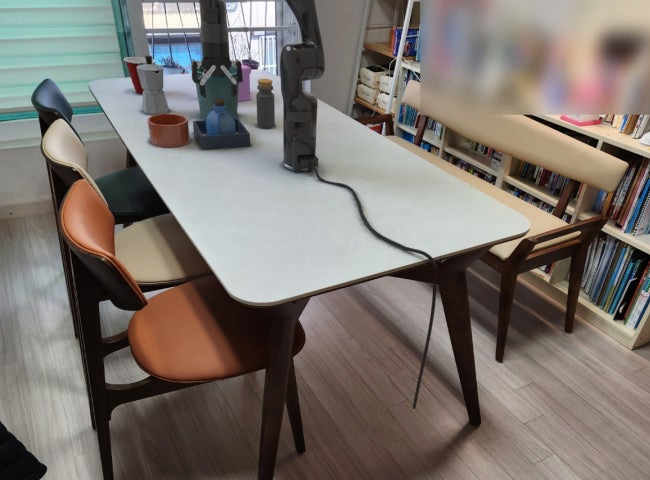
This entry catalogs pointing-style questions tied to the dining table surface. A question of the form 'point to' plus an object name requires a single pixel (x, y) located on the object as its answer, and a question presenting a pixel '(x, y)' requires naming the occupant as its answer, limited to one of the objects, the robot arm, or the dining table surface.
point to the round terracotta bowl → (168, 130)
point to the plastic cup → (135, 71)
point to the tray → (221, 136)
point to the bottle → (265, 104)
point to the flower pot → (217, 93)
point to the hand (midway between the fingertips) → (218, 96)
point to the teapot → (244, 84)
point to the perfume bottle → (220, 120)
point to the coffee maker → (152, 88)
